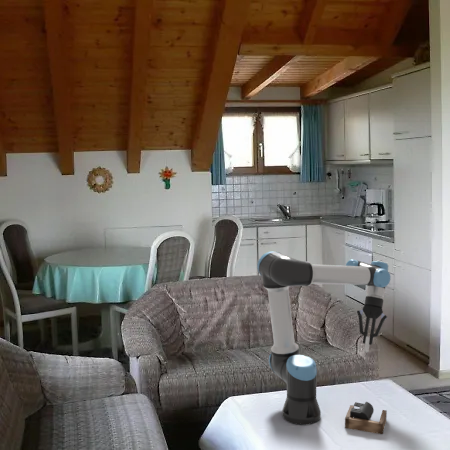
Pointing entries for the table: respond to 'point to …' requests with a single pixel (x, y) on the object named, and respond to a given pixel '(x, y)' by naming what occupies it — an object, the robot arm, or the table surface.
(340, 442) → the table surface
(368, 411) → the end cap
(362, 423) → the corral
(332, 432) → the table surface
